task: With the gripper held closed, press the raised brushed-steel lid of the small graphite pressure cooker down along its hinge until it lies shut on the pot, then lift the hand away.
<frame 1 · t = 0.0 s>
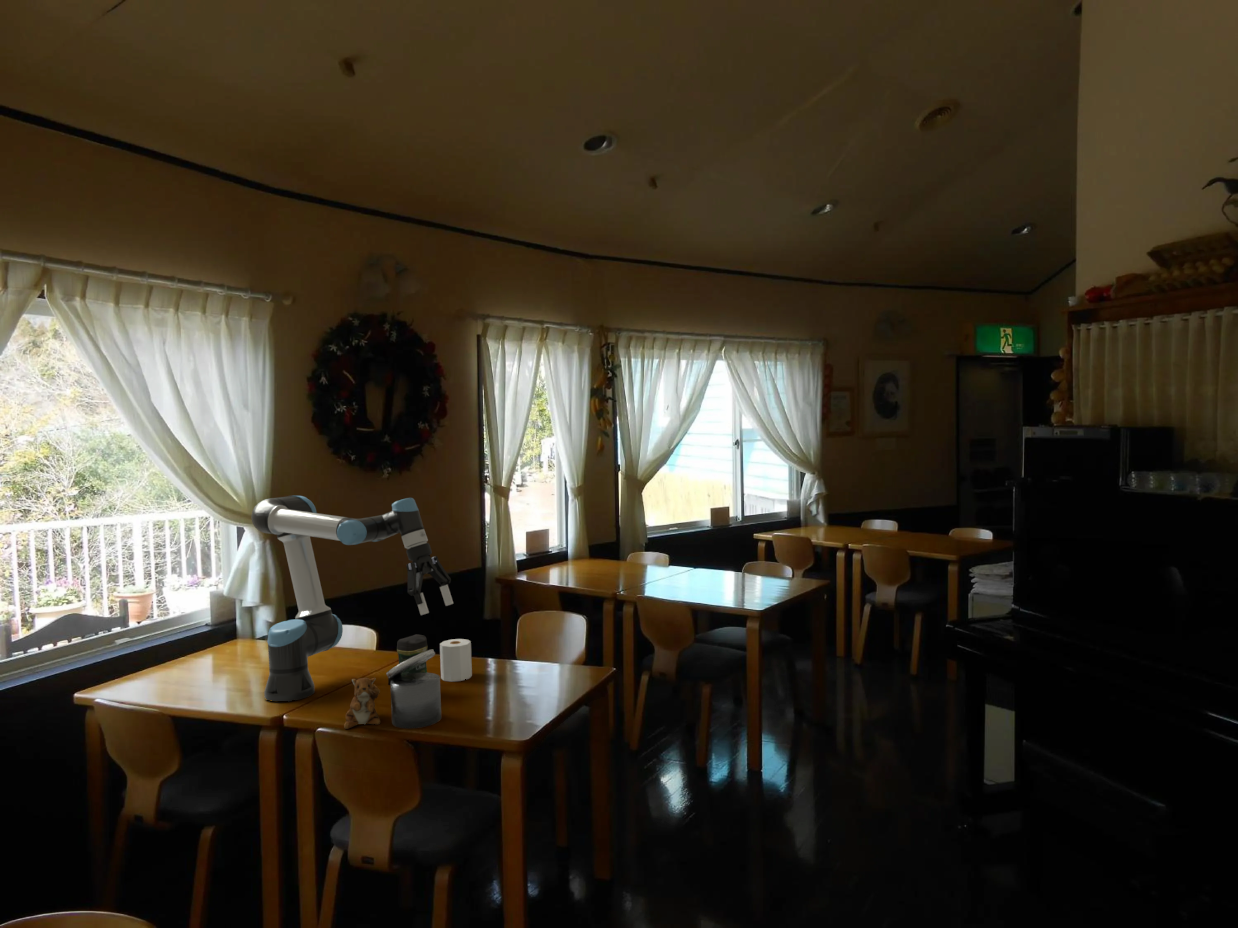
hand: (437, 609, 258), 28 cm above the table, tool tilted 20°, fingers open, 13 cm apart
cooker pot: (416, 719, 238), on the table
stuffed squirrel: (363, 721, 239), on the table
toilet paper: (456, 677, 279), on the table
coffee jar: (413, 693, 263), on the table
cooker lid: (410, 664, 238), point 16 cm above the table, hinge at 31.2°, touching cooker pot
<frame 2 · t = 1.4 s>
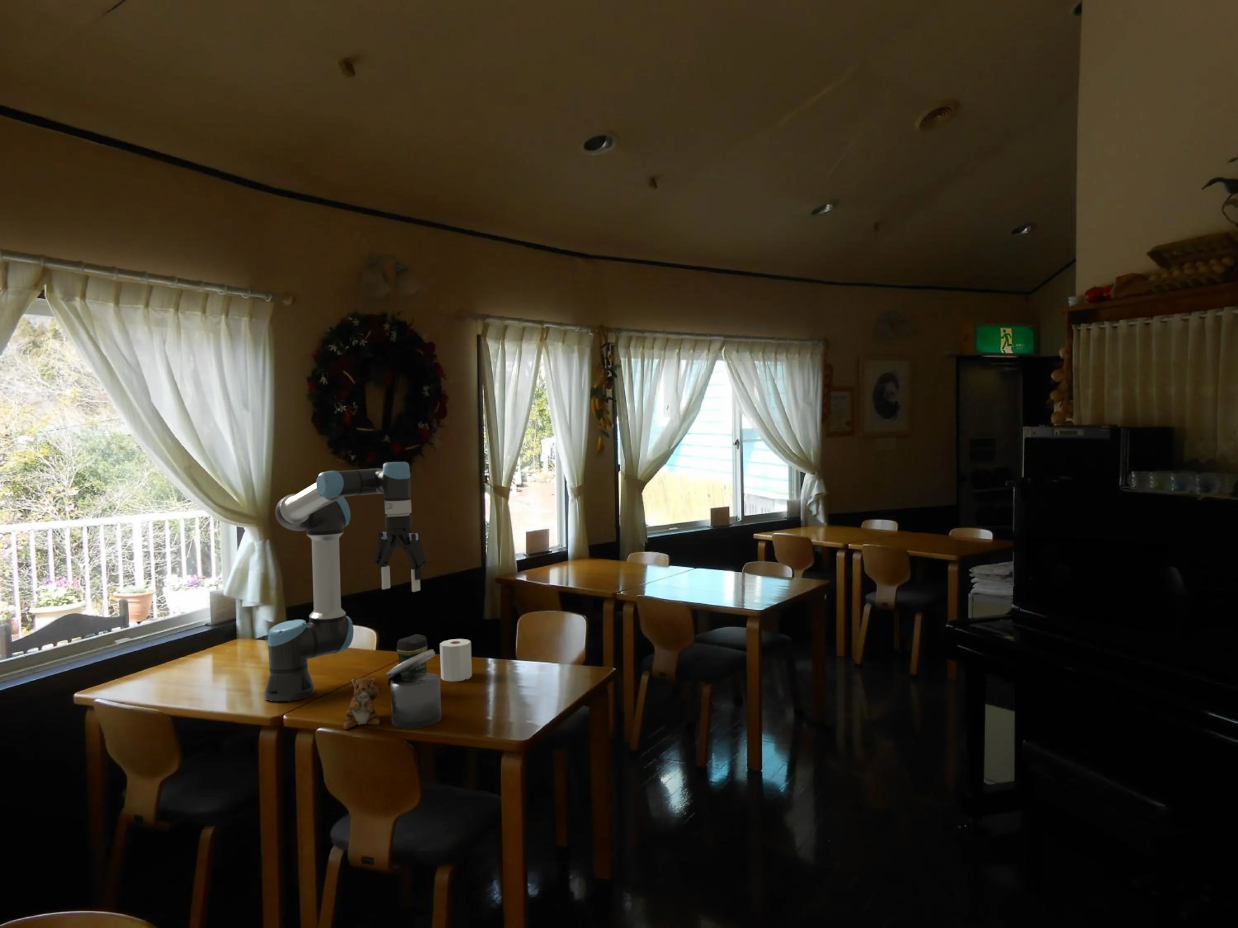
hand: (401, 589, 238), 38 cm above the table, tool pointing down, fingers open, 11 cm apart
nothing on the table moved.
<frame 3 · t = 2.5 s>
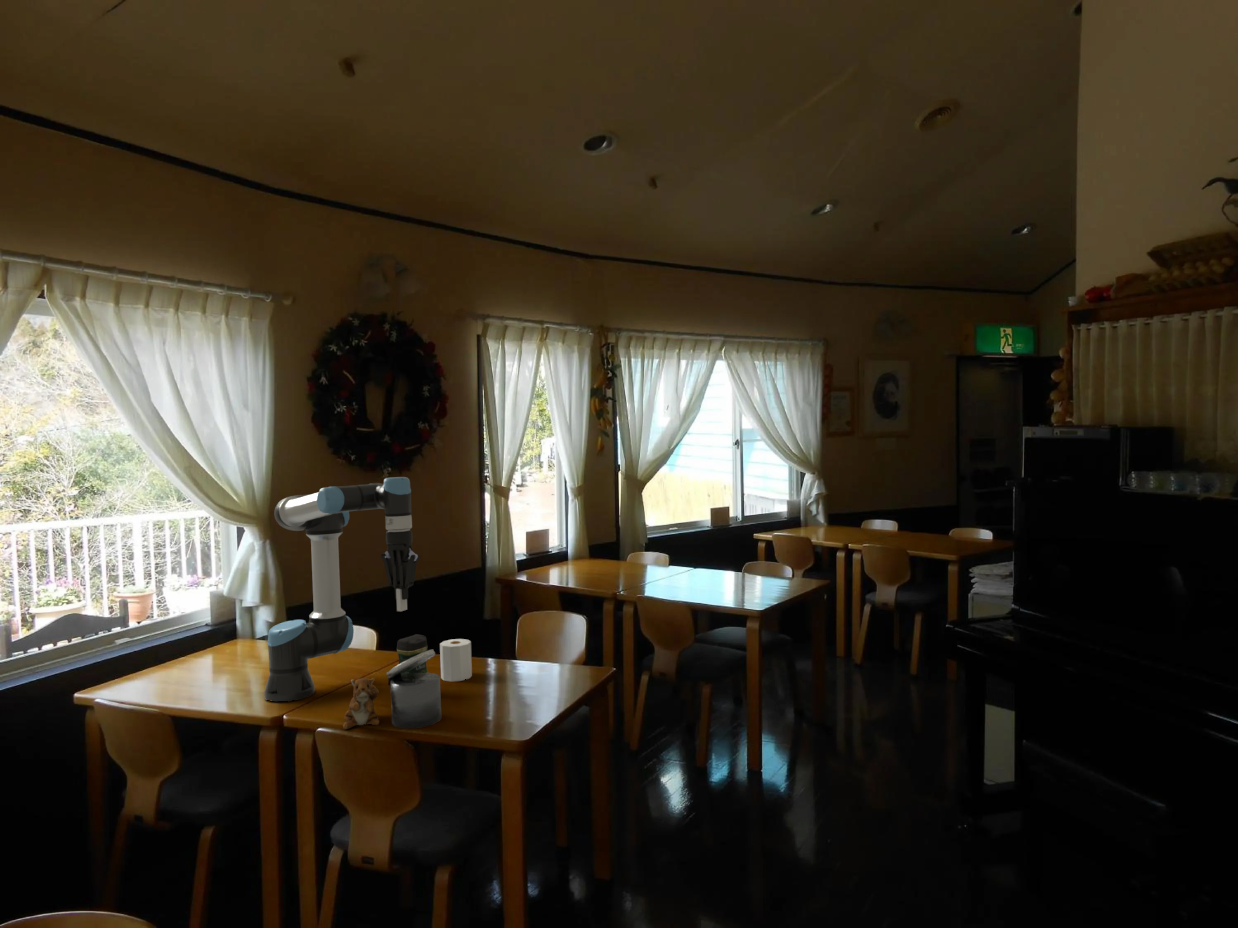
hand: (402, 610, 238), 32 cm above the table, tool pointing down, fingers closed
nothing on the table moved.
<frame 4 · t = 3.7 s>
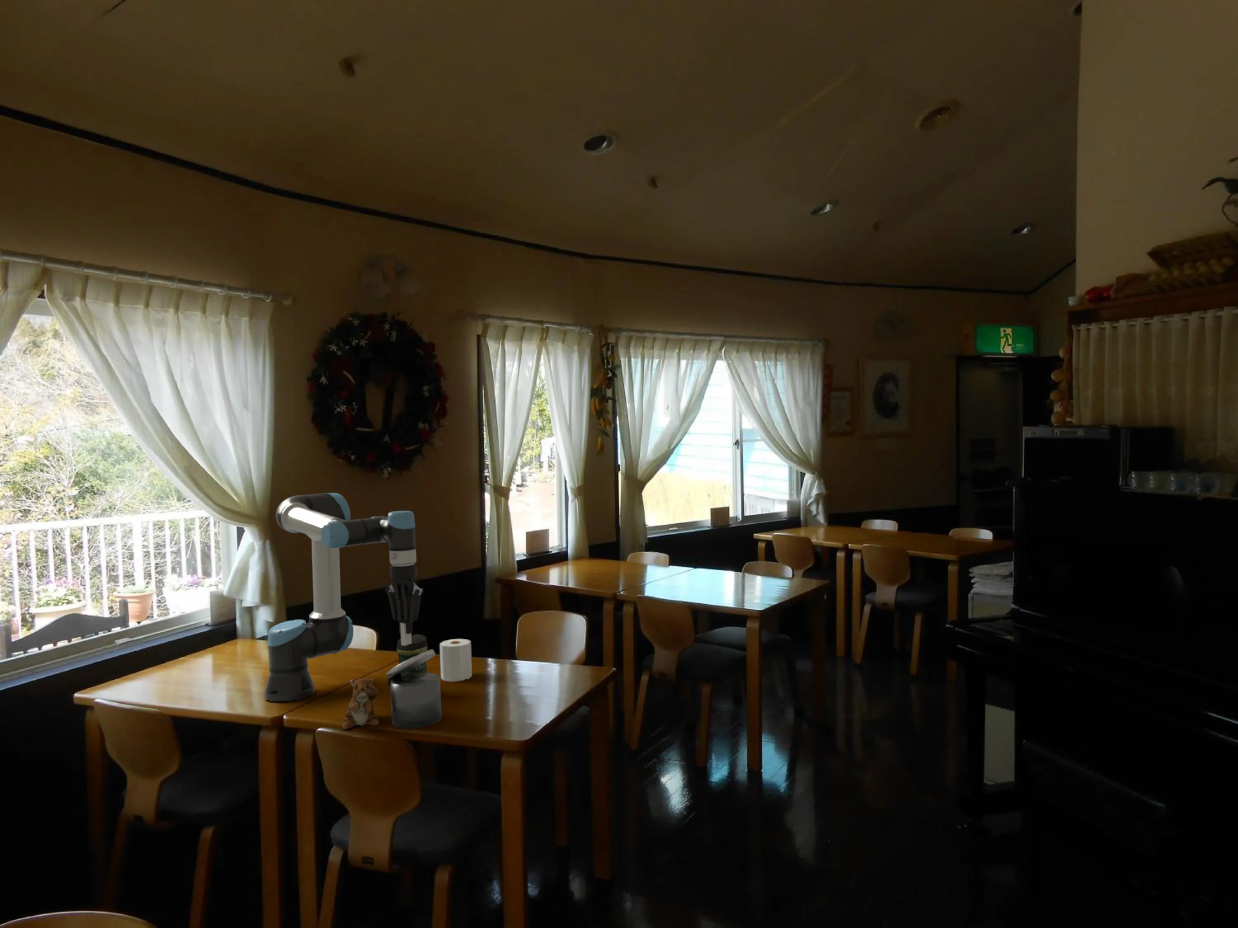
hand: (406, 644, 238), 22 cm above the table, tool pointing down, fingers closed
nothing on the table moved.
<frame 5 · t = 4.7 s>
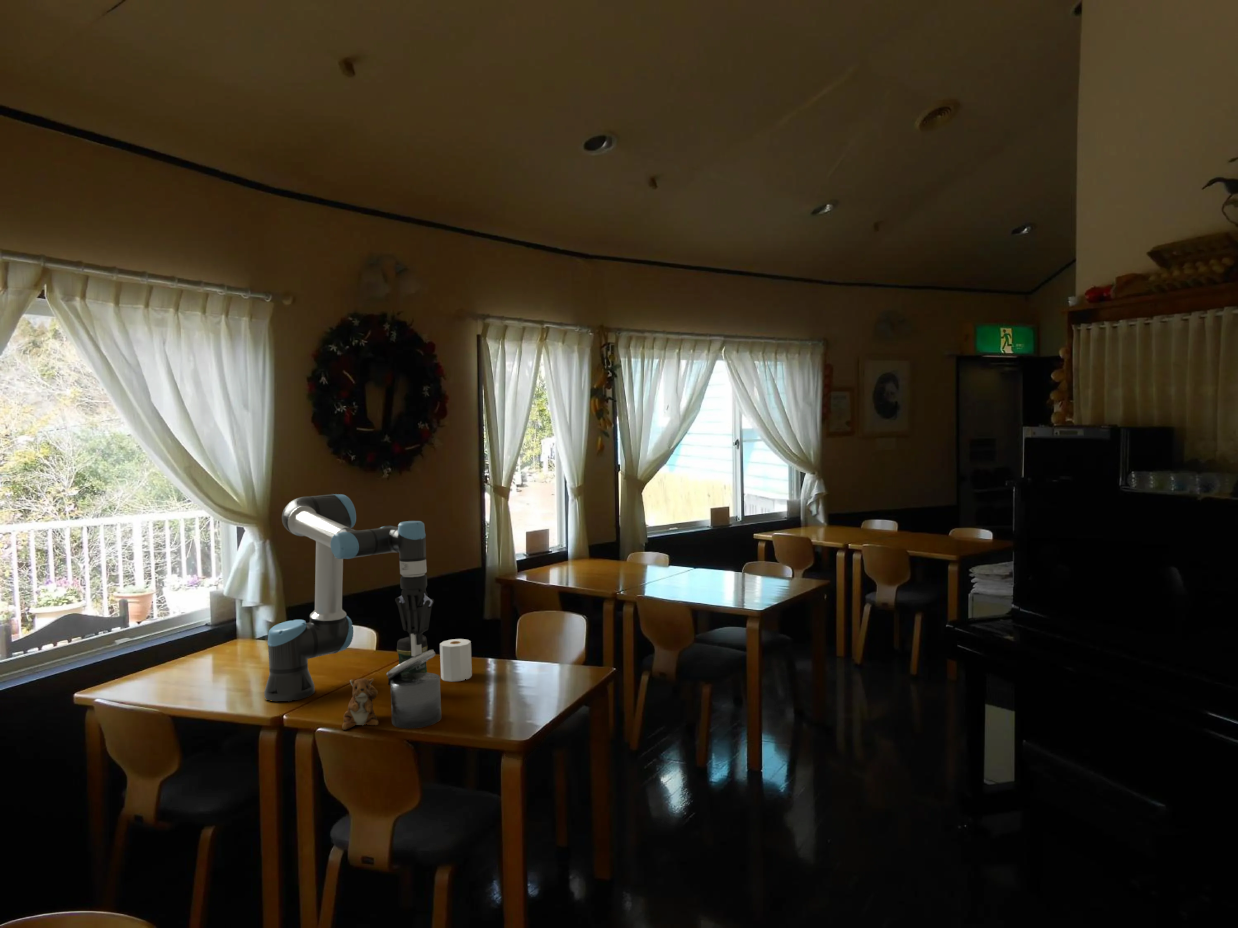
hand: (416, 655, 237), 19 cm above the table, tool pointing down, fingers closed
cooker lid: (410, 664, 238), point 16 cm above the table, hinge at 30.7°, touching gripper
everything else where it was.
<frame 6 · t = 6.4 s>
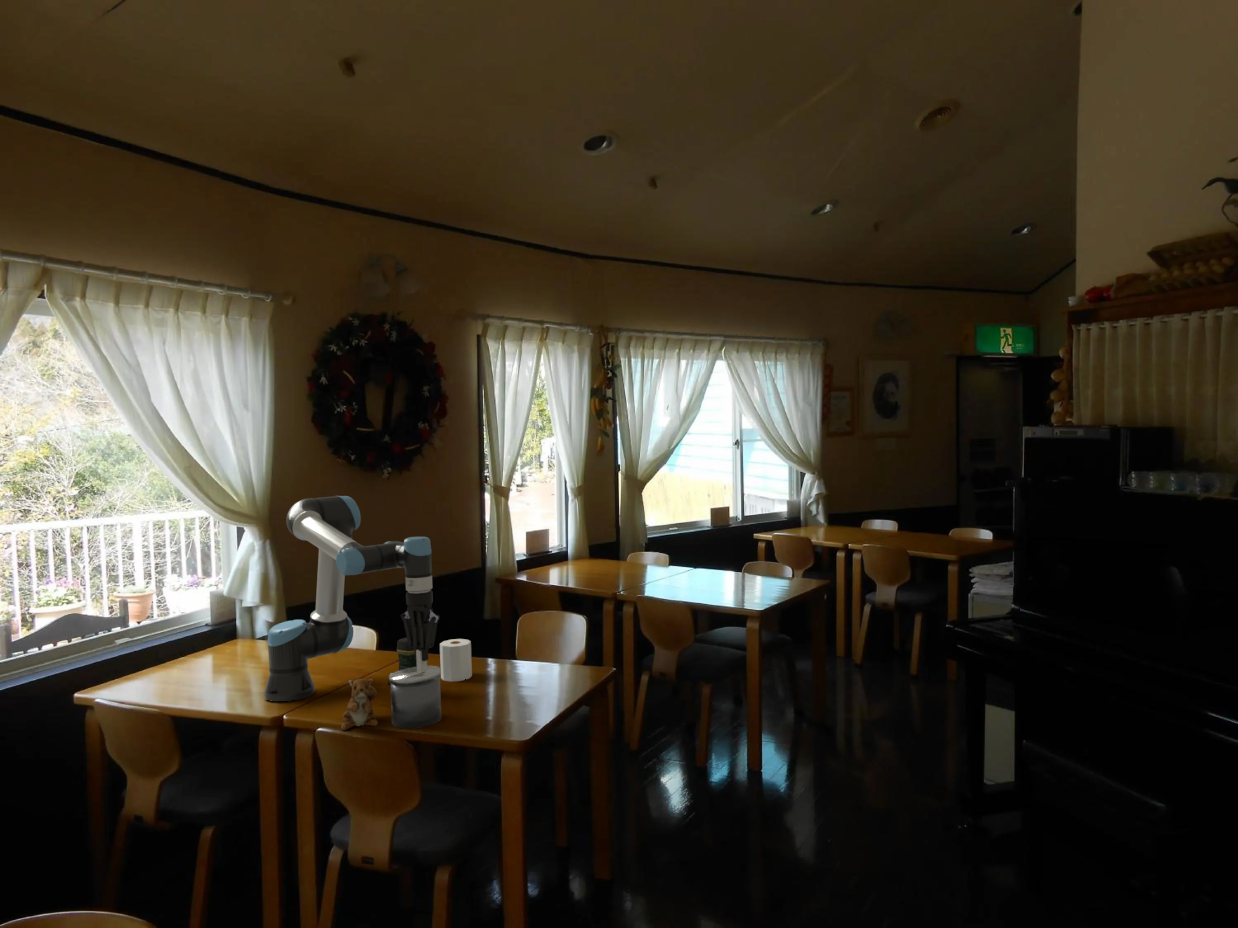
hand: (422, 671, 236), 15 cm above the table, tool pointing down, fingers closed
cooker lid: (414, 674, 238), point 13 cm above the table, hinge at 4.8°
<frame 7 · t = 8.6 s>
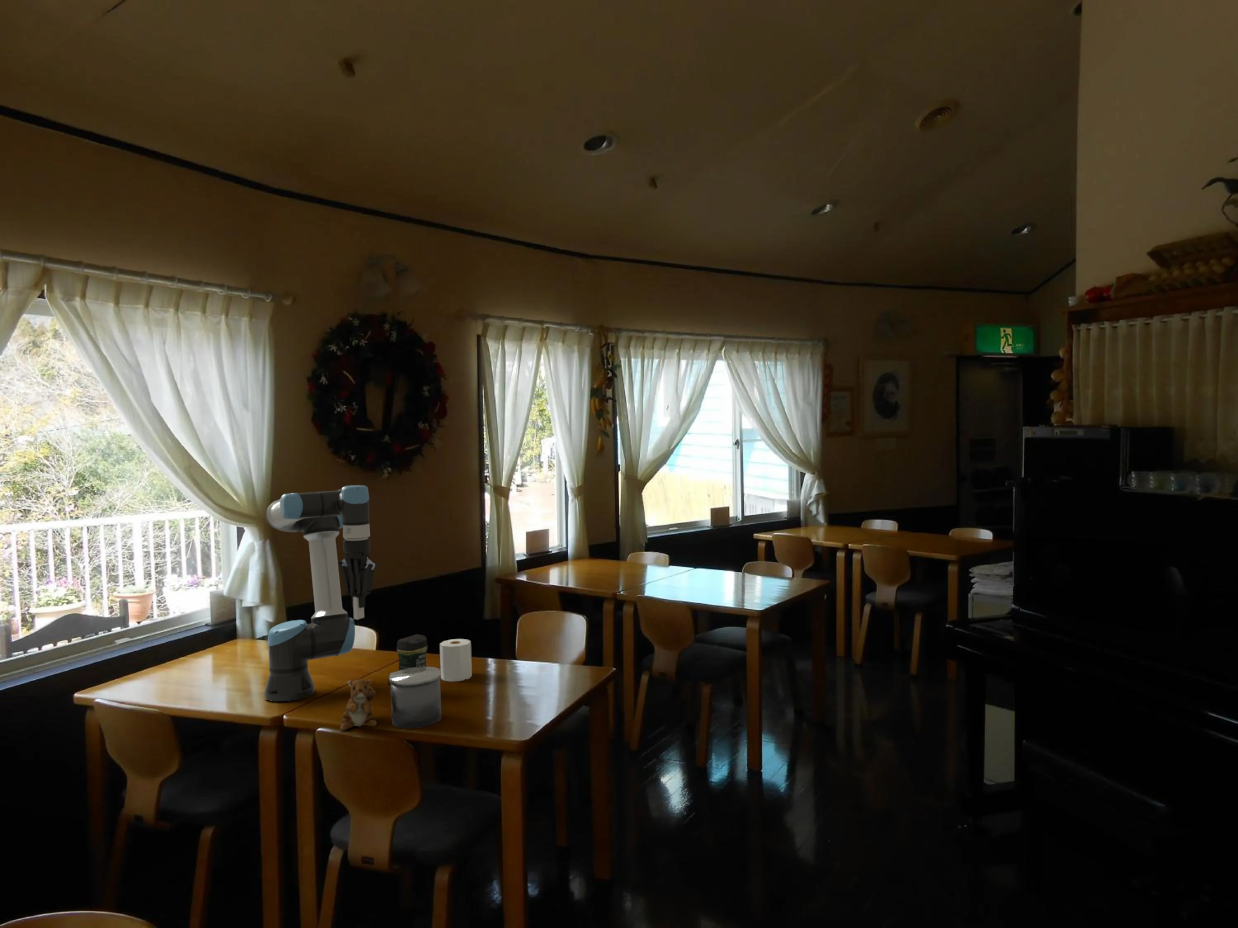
hand: (359, 618, 239), 30 cm above the table, tool pointing down, fingers closed
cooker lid: (414, 675, 237), point 13 cm above the table, hinge at 2.0°
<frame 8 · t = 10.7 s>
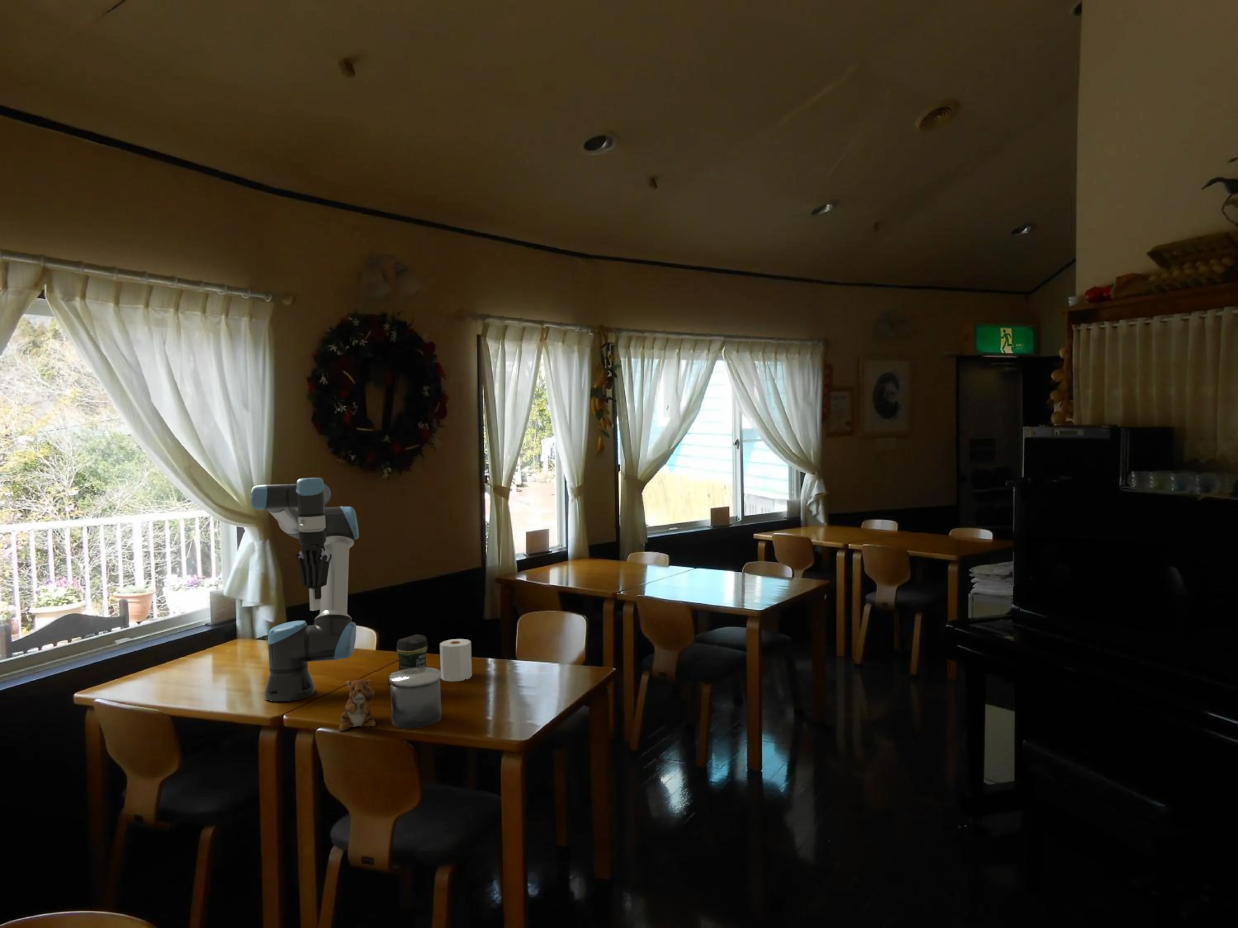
hand: (315, 609, 240), 32 cm above the table, tool pointing down, fingers closed
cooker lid: (414, 676, 237), point 13 cm above the table, hinge at 0.0°
at the end: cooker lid at +0° (first picture: +31°) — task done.
